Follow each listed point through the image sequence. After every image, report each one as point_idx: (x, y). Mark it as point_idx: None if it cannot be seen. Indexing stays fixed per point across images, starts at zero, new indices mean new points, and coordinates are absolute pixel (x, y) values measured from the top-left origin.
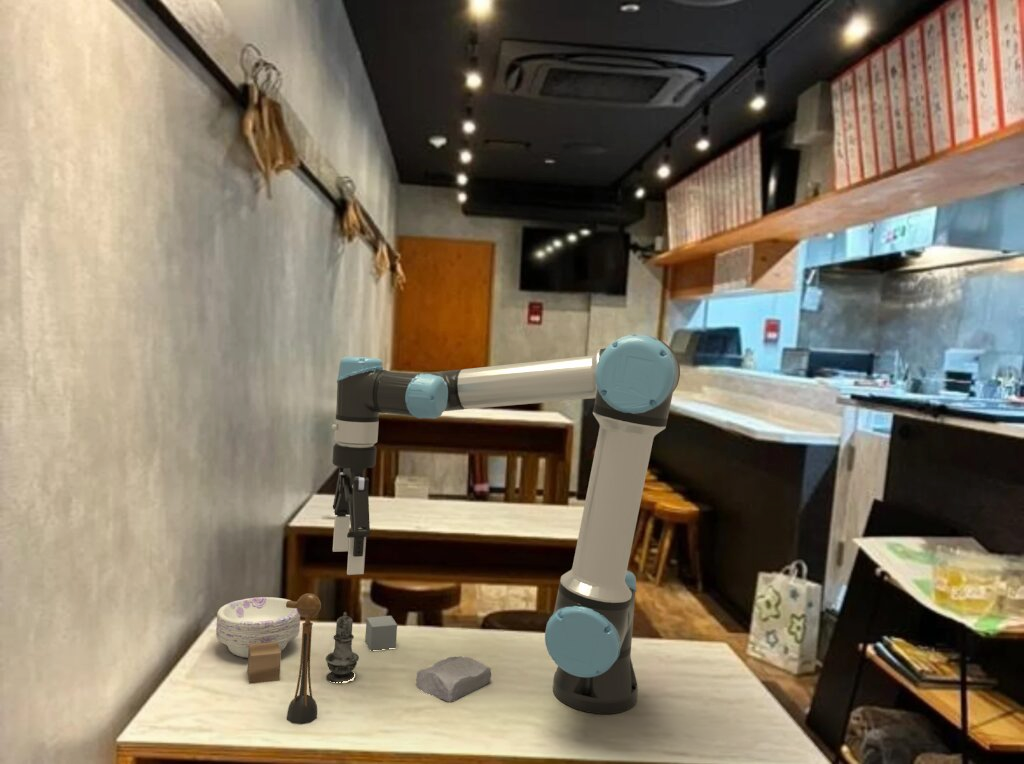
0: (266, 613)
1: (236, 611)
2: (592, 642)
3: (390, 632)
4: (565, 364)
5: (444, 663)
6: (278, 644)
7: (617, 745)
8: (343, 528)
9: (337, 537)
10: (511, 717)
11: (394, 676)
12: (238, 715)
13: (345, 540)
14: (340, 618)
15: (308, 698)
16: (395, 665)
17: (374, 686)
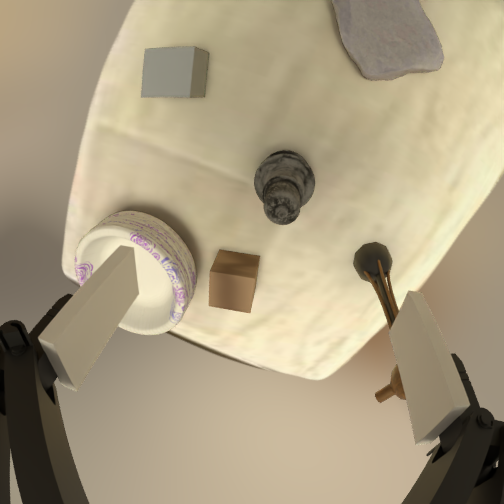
0: (99, 255)
1: None
2: None
3: (198, 60)
4: None
5: (348, 16)
6: (220, 272)
7: None
8: (91, 327)
9: (114, 318)
10: (488, 32)
11: (318, 93)
12: (330, 314)
13: (115, 283)
14: (282, 221)
15: (385, 269)
16: (276, 75)
17: (339, 138)
